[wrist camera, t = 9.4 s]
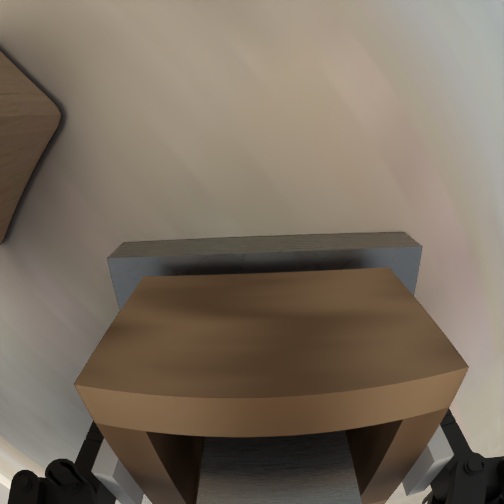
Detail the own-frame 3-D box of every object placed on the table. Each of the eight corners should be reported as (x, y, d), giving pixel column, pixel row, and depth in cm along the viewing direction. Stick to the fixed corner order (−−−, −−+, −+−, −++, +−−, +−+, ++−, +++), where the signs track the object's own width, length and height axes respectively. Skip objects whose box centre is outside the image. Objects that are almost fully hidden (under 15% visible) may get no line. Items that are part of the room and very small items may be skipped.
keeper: (160, 388, 18) (109, 571, 6) (123, 242, 15) (-57, 456, 3) (375, 379, 18) (436, 557, 6) (404, 232, 14) (595, 425, 2)
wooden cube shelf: (184, 427, 15) (166, 519, 9) (144, 276, 12) (73, 384, 6) (354, 421, 15) (378, 510, 9) (388, 266, 11) (468, 366, 6)
